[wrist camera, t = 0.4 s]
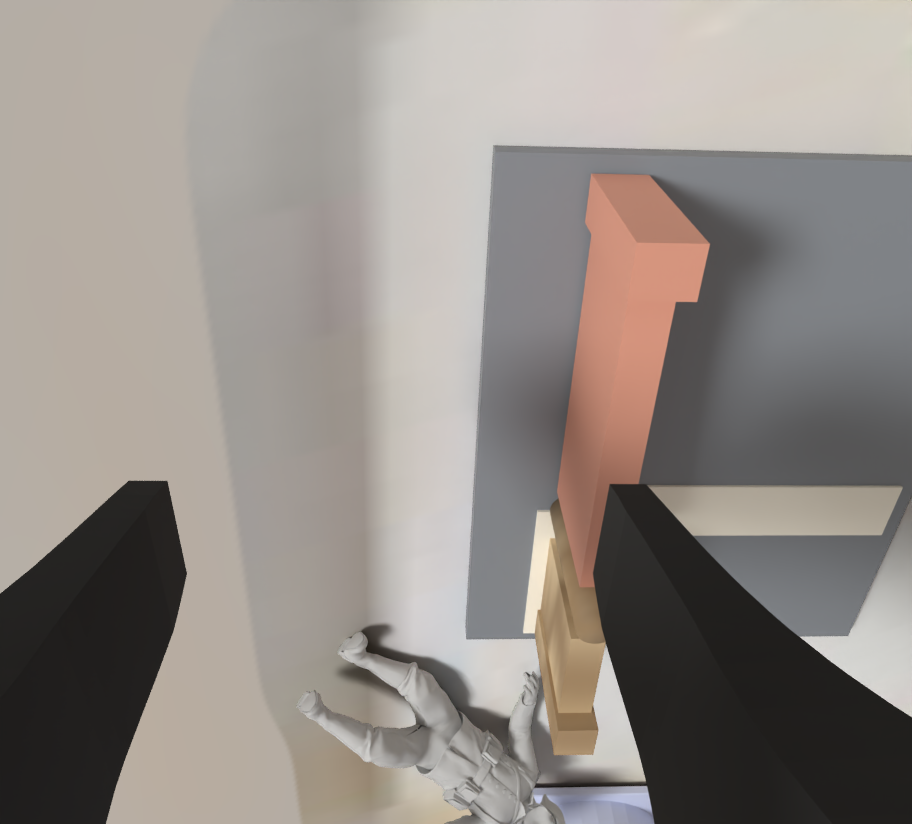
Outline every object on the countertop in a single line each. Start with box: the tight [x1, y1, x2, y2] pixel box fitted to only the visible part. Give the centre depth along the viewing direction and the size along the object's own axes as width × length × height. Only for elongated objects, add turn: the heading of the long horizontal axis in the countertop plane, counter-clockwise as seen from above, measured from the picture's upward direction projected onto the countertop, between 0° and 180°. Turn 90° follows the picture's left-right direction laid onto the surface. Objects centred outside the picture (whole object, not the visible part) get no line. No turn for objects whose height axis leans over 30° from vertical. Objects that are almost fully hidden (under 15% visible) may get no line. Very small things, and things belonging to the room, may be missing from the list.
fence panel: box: [557, 174, 710, 587], centre depth 19 cm, size 10×1×5 cm, turn 178°
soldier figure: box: [296, 632, 566, 824], centre depth 29 cm, size 8×5×12 cm
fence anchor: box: [535, 498, 606, 755], centre depth 24 cm, size 6×1×5 cm, turn 178°
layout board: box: [466, 146, 912, 639], centre depth 23 cm, size 17×14×1 cm
